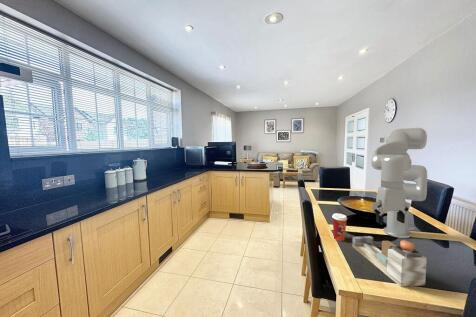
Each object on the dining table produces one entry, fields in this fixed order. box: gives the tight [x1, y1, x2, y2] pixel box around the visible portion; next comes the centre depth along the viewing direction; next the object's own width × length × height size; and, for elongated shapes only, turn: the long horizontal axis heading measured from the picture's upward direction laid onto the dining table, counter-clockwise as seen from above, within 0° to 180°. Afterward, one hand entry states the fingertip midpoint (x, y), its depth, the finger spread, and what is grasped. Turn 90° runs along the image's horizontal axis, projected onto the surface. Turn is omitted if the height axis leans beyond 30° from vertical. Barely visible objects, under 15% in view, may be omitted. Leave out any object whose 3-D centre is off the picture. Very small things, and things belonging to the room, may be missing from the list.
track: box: [351, 235, 428, 288], centre depth 86 cm, size 10×28×13 cm, turn 3°
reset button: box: [399, 239, 415, 252], centre depth 75 cm, size 4×4×2 cm
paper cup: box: [331, 212, 348, 242], centre depth 109 cm, size 8×8×14 cm
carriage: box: [376, 240, 396, 266], centre depth 84 cm, size 7×5×9 cm
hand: (390, 222), depth 83 cm, fingers open, 9 cm apart
